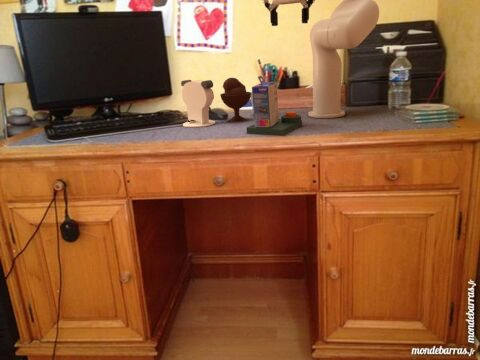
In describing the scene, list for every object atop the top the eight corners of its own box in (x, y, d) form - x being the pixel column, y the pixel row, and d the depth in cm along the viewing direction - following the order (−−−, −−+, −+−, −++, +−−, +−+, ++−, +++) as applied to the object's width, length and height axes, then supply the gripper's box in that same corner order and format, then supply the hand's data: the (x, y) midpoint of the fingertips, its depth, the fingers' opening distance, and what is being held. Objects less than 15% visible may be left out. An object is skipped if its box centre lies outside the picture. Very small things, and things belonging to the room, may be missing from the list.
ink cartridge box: (262, 121, 124) (260, 74, 120) (279, 121, 123) (277, 74, 118) (253, 127, 116) (250, 77, 111) (271, 128, 114) (269, 77, 109)
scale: (268, 124, 129) (267, 113, 128) (303, 125, 123) (303, 114, 122) (246, 133, 117) (246, 122, 116) (285, 136, 111) (284, 124, 110)
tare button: (288, 116, 123) (288, 111, 123) (297, 116, 122) (297, 111, 121) (284, 118, 121) (284, 113, 120) (293, 118, 119) (293, 113, 119)
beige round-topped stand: (223, 122, 137) (220, 78, 132) (202, 128, 129) (197, 82, 124) (197, 120, 144) (194, 78, 139) (176, 126, 136) (171, 82, 131)
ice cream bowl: (249, 122, 133) (247, 77, 128) (218, 123, 135) (214, 79, 130) (254, 117, 143) (252, 75, 138) (225, 117, 145) (222, 76, 140)
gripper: (322, -43, 109) (321, 22, 115) (266, -34, 117) (268, 26, 123) (313, -48, 103) (312, 22, 109) (255, -38, 111) (258, 26, 117)
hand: (289, 24), depth 116 cm, fingers open, 9 cm apart
